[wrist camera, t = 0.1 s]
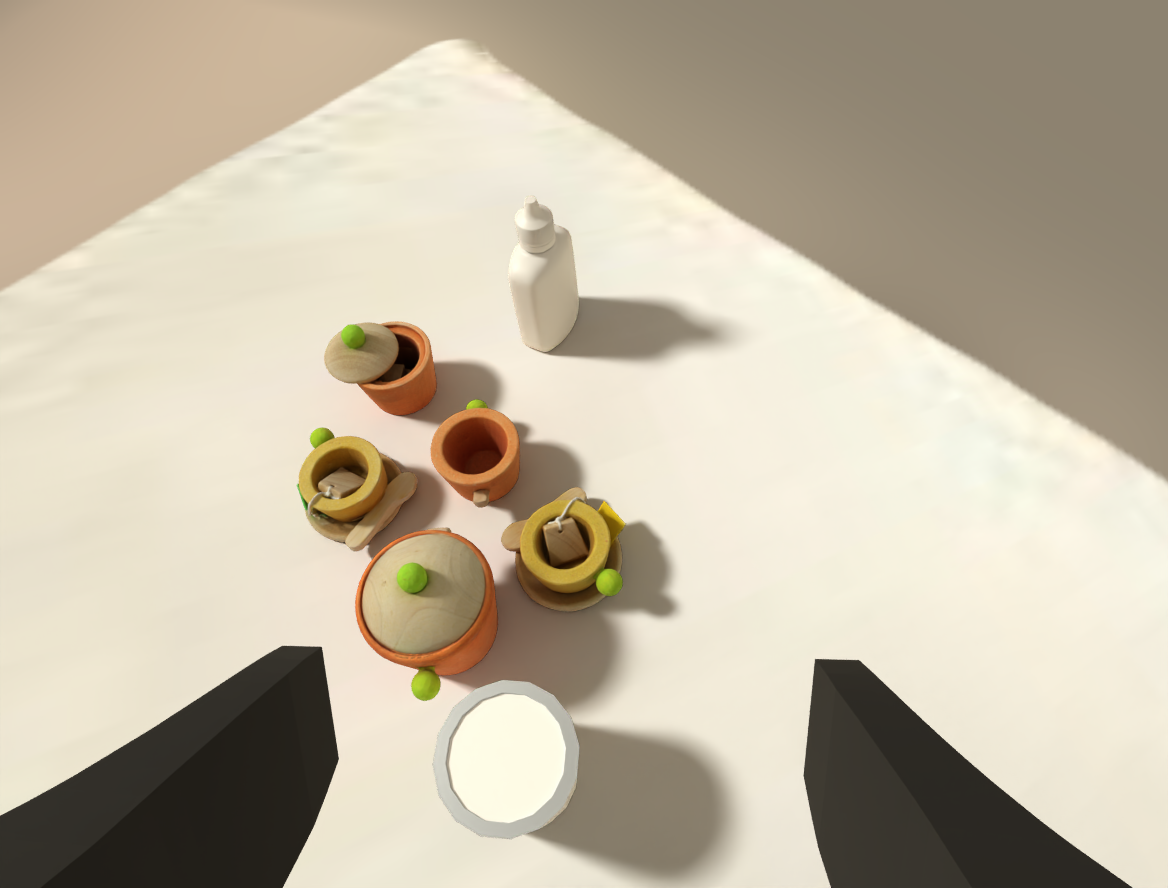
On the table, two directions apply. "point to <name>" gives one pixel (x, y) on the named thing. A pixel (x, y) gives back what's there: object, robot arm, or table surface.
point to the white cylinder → (506, 759)
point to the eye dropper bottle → (543, 278)
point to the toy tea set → (436, 556)
